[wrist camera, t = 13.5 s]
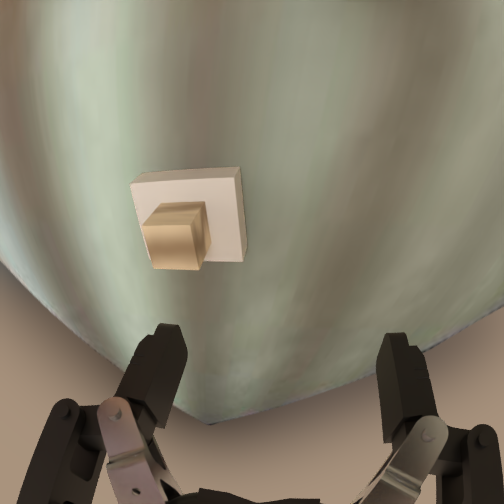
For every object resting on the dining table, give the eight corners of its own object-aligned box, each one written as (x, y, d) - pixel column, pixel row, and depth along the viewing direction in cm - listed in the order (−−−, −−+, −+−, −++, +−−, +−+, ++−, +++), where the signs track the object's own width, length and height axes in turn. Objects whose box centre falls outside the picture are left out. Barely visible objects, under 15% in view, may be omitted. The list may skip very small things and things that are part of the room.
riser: (142, 172, 41) (129, 183, 38) (239, 166, 39) (234, 177, 36) (159, 244, 48) (149, 259, 44) (247, 245, 46) (242, 261, 42)
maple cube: (160, 202, 39) (141, 225, 34) (204, 201, 38) (190, 225, 33) (169, 242, 42) (153, 268, 37) (211, 242, 41) (199, 270, 36)
